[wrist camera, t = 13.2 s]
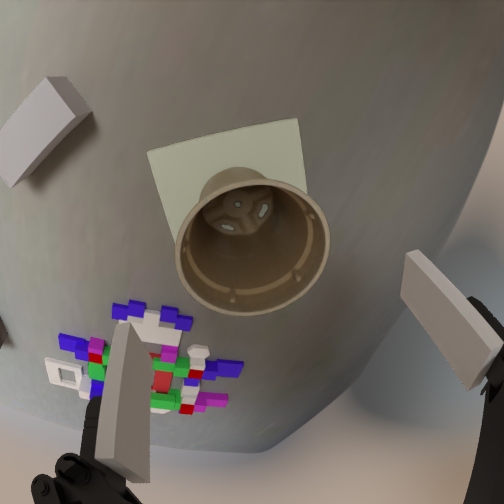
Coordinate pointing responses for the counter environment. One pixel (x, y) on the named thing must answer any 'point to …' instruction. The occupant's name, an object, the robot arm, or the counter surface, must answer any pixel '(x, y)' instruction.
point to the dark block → (2, 333)
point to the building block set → (167, 363)
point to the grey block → (39, 127)
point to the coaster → (225, 163)
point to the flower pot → (251, 244)
